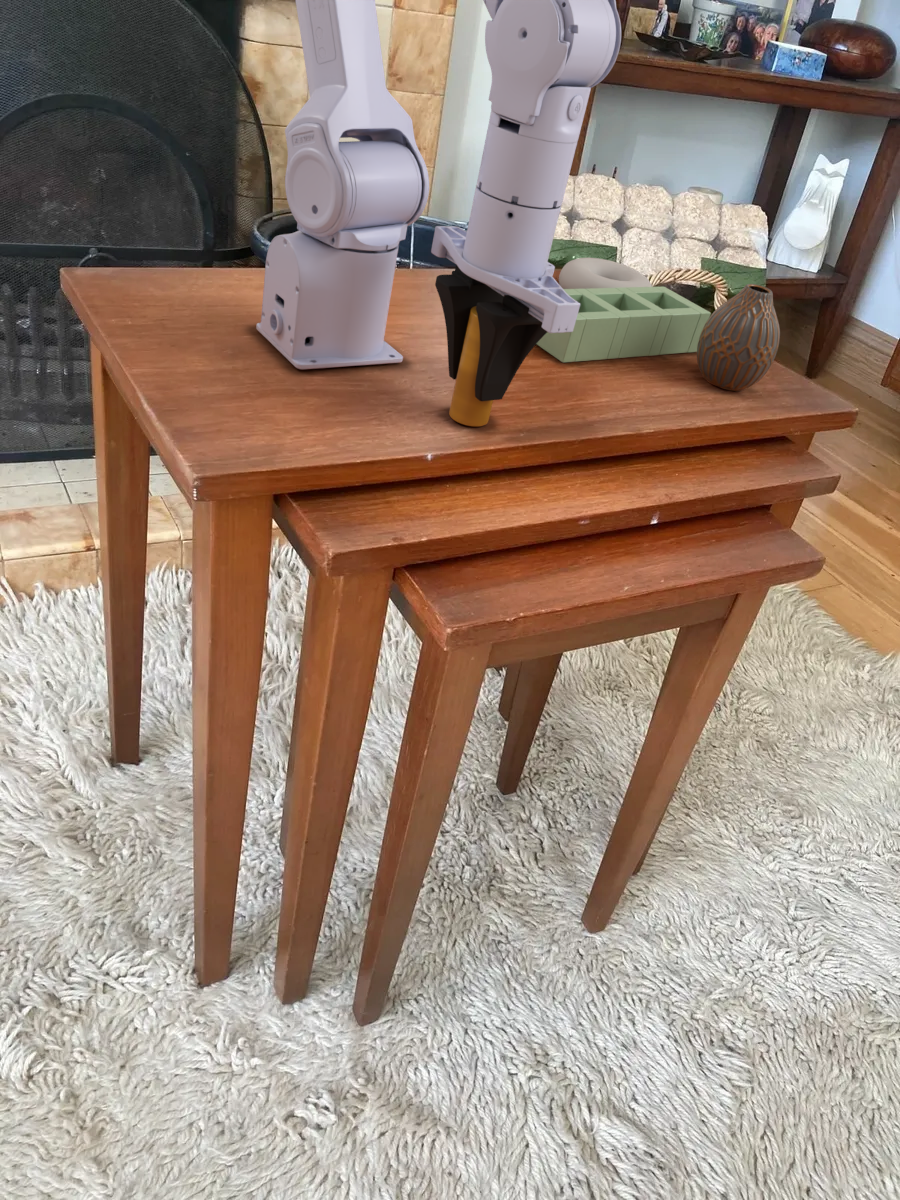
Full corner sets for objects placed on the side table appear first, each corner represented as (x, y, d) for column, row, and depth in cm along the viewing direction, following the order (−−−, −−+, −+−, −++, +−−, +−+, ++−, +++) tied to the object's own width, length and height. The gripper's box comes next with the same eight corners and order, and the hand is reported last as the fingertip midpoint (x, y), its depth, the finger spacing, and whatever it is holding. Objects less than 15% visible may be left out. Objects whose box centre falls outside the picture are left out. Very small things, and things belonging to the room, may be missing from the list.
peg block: (562, 362, 85) (574, 319, 83) (518, 332, 89) (528, 289, 87) (697, 352, 94) (711, 312, 92) (651, 324, 99) (664, 286, 96)
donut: (650, 329, 98) (644, 296, 106) (661, 296, 96) (654, 265, 104) (553, 307, 97) (555, 276, 105) (562, 274, 95) (563, 244, 103)
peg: (463, 428, 70) (486, 323, 66) (441, 409, 72) (462, 305, 68) (496, 424, 72) (521, 321, 67) (473, 406, 74) (496, 304, 69)
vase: (673, 364, 90) (705, 271, 85) (731, 365, 93) (765, 275, 88) (715, 398, 85) (752, 302, 80) (775, 398, 88) (814, 305, 83)
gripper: (636, 234, 61) (578, 428, 68) (504, 164, 69) (466, 343, 77) (549, 233, 57) (498, 438, 65) (421, 159, 66) (390, 348, 74)
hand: (475, 387), depth 71 cm, fingers closed on peg, 3 cm apart
